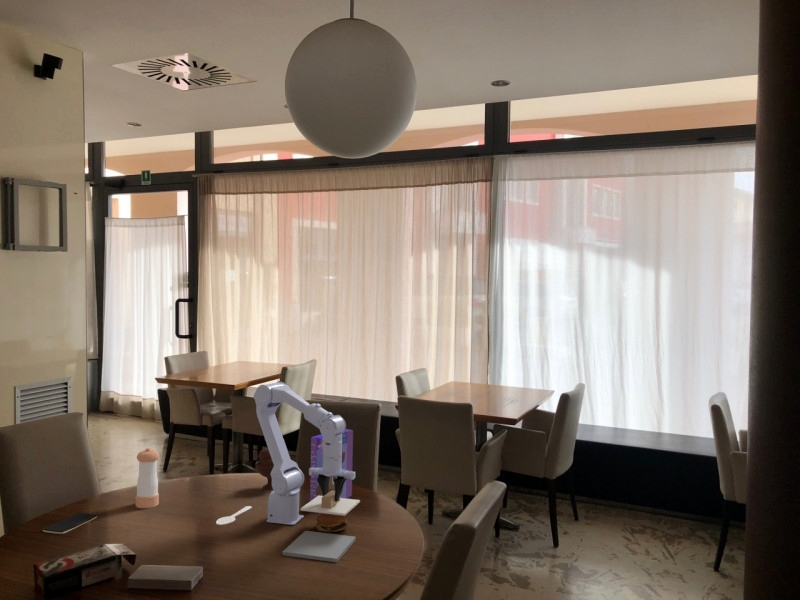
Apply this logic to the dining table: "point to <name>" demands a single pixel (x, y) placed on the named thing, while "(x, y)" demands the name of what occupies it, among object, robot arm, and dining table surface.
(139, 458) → the pepper shaker
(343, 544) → the mat
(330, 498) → the lid
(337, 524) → the burger
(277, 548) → the dining table surface
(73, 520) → the smartphone
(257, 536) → the dining table surface
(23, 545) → the dining table surface
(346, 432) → the cereal box
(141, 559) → the dining table surface
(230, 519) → the spoon
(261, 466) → the ice cream bowl
